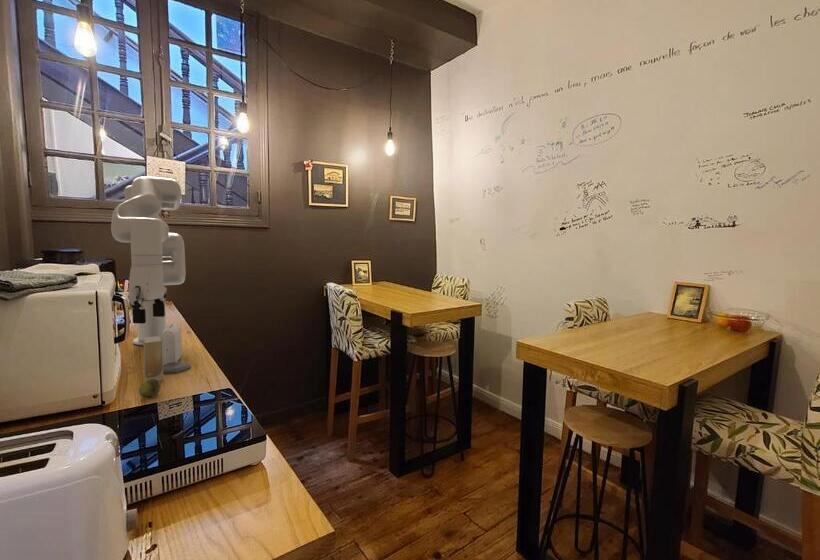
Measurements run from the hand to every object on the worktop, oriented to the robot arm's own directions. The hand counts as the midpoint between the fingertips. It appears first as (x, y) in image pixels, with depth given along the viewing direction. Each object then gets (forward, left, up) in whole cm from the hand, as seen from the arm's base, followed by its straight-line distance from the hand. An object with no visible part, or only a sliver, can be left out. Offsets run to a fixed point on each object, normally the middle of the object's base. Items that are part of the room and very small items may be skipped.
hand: (149, 319), depth 117 cm
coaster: (-9, +2, -18) cm, 20 cm away
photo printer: (-18, -3, -18) cm, 26 cm away
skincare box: (-1, 0, -18) cm, 18 cm away
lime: (+13, +7, -18) cm, 23 cm away
